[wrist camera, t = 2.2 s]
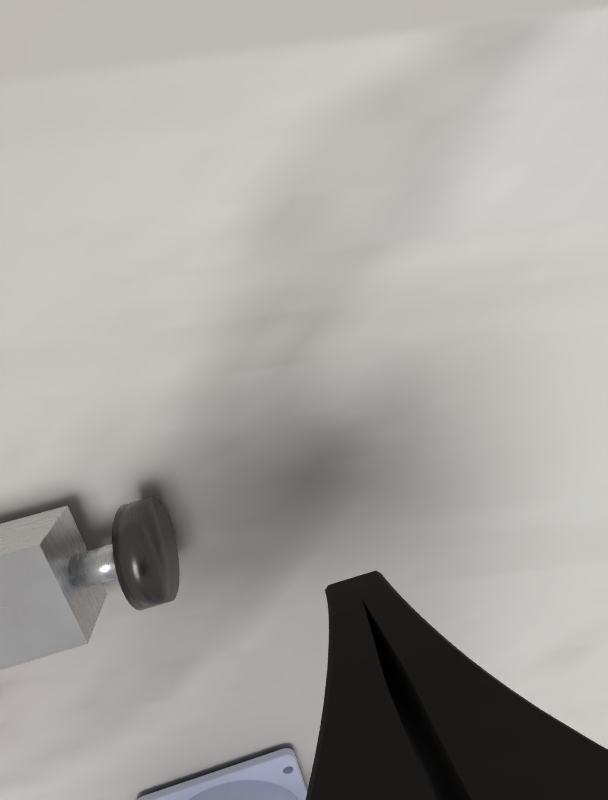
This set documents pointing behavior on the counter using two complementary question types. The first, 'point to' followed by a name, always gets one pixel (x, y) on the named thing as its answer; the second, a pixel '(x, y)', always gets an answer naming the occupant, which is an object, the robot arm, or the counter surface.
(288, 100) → the counter surface
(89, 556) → the door stop
